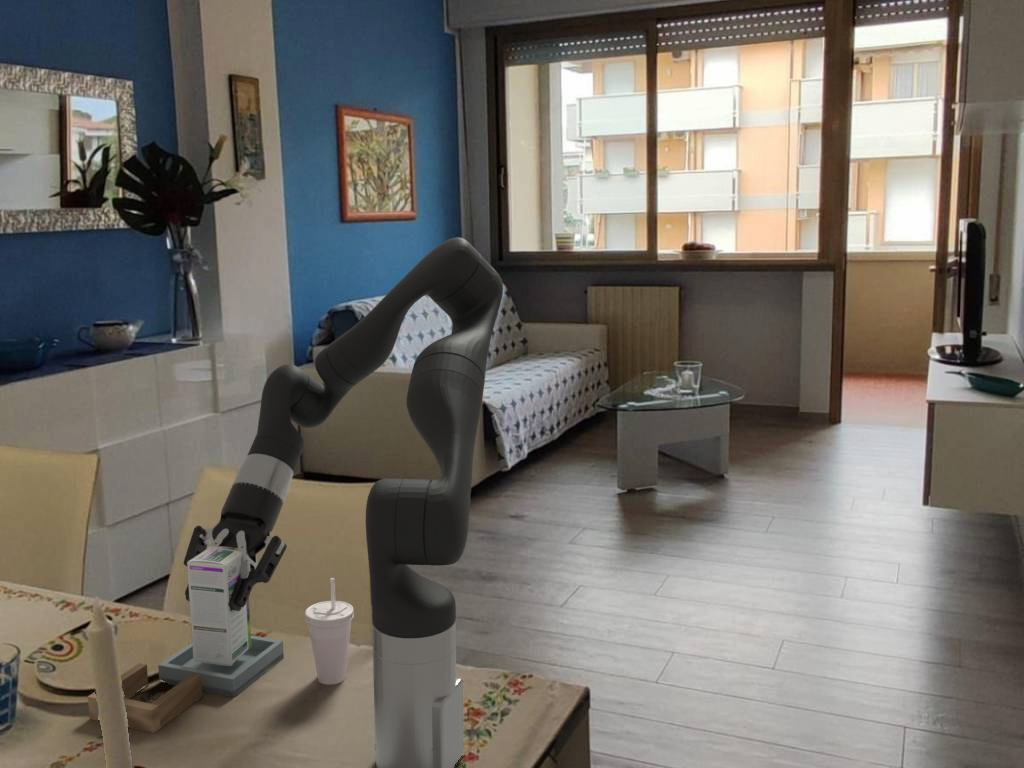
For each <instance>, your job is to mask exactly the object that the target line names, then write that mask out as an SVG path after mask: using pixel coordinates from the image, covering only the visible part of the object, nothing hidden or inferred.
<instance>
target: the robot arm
mask: <svg viewBox="0 0 1024 768" xmlns="http://www.w3.org/2000/svg"><path fill="white" fill-rule="evenodd" d="M503 293H504V283H503V280H502V278H501V276H500V274H499V273H498V271H497V270H496V269H495V268H494V267H493V266H492V265H491V264H490V263H489V262H488V261H487V260H486V259H485V258H484V256H483V255H481V253H480V251H478V250H477V249H476V248H475V247H474V246H473V245H472V244H471V243H470V241H468V240H466V239H465V238H463V237H452V238H449V239H447V240H445V241H444V242H442V243H440V244H438V245H437V246H436V247H435V248H433V249H432V250H431V251H429V252H428V254H426V255H425V256H424V257H423V258H421V260H420V261H419V262H418V263H417V264H415V266H414V267H413V268H412V269H411V270H409V272H407V274H406V275H405V276H404V277H402V279H400V281H399V282H398V283H396V285H395V286H393V288H392V289H391V290H390V291H389V292H388V293H386V295H385V296H384V297H383V298H382V299H381V300H380V301H379V302H378V303H377V304H376V305H375V306H374V307H373V308H372V309H371V310H370V311H369V312H368V313H367V314H365V316H364V317H363V318H361V319H360V321H358V322H357V323H356V324H355V325H354V326H352V327H351V328H350V329H348V330H347V331H345V332H344V333H343V334H342V335H340V336H338V338H336V339H335V340H334V341H332V342H331V343H330V344H328V345H327V346H325V347H324V348H323V349H321V351H319V352H318V354H317V355H316V357H315V359H314V367H315V370H316V372H317V375H318V376H319V377H320V379H321V380H322V382H323V383H320V382H319V380H318V381H317V380H316V379H315V378H314V377H312V376H311V375H309V373H307V372H306V371H304V370H303V369H301V368H300V367H298V366H297V365H295V364H290V363H289V364H288V363H287V364H283V365H280V366H278V367H277V368H275V369H274V370H273V371H272V372H271V373H270V374H269V376H268V377H267V378H266V381H265V383H264V386H263V388H262V392H261V400H260V406H259V407H260V409H259V415H258V425H257V430H256V436H255V437H254V439H253V442H252V444H251V446H250V449H249V451H248V453H247V455H246V457H245V458H244V459H245V460H244V462H243V463H242V465H241V466H240V468H239V469H238V472H237V473H236V476H235V478H234V482H233V483H232V485H231V488H230V490H229V492H228V495H227V497H226V499H225V502H224V504H223V506H222V509H221V511H220V520H219V521H218V523H217V524H216V525H214V527H213V528H203V527H202V525H196V526H195V527H194V528H193V532H192V534H191V537H190V541H189V544H188V547H187V549H186V553H185V557H184V559H183V565H184V566H185V567H187V562H188V561H190V560H191V559H193V558H194V557H196V556H197V555H199V554H200V553H202V552H204V551H205V550H206V549H207V548H208V547H209V546H210V547H218V546H222V547H233V548H238V550H239V551H242V552H243V554H242V558H241V567H240V573H241V579H238V581H237V583H236V585H235V588H234V590H233V593H232V595H231V598H230V600H229V603H228V605H229V607H230V608H232V609H233V610H235V611H240V610H241V607H244V606H245V604H246V602H247V599H248V597H249V598H250V594H251V592H252V589H253V587H254V586H255V585H256V584H260V583H263V584H267V583H269V582H270V581H271V579H272V577H273V575H274V572H275V571H276V569H277V567H278V565H279V563H280V561H281V559H282V557H283V556H284V553H285V551H287V543H286V542H284V541H283V540H282V538H281V537H279V536H278V535H273V537H272V536H270V534H271V532H272V531H274V528H275V526H276V523H277V520H278V518H279V516H280V513H281V511H282V508H283V505H284V503H285V501H286V498H287V495H288V494H289V490H290V488H291V484H292V480H293V476H294V473H295V471H296V469H297V466H298V463H299V460H300V458H301V456H302V454H303V451H304V447H305V441H304V438H303V436H302V435H301V433H300V432H299V431H298V430H297V428H296V427H295V426H294V425H293V423H294V424H297V425H298V426H299V427H301V428H305V429H312V428H315V427H318V426H321V425H322V424H323V423H325V422H326V421H327V419H329V418H330V416H331V414H332V413H333V412H334V410H335V409H336V407H337V406H338V405H339V403H340V402H341V401H343V398H344V397H345V396H346V395H347V394H348V393H349V391H350V390H351V389H353V387H354V386H356V385H357V384H359V383H360V382H361V381H363V380H364V379H366V378H367V377H368V376H370V375H371V374H373V373H374V372H375V371H377V370H378V369H379V368H380V367H382V366H383V364H384V363H386V361H387V359H388V358H389V357H390V355H391V353H393V350H394V347H395V345H396V342H397V339H398V337H399V336H398V335H399V334H400V330H401V327H402V325H403V321H404V319H405V318H406V315H407V314H408V311H409V310H410V309H411V308H412V306H414V304H415V303H417V302H418V301H419V300H420V299H421V298H423V297H424V296H428V297H429V298H430V299H431V300H432V302H433V303H435V304H436V305H437V306H438V308H440V309H441V310H442V311H443V312H444V313H446V315H447V316H448V317H449V318H450V320H451V325H452V326H451V327H452V328H451V332H450V334H448V335H446V336H444V337H441V338H438V340H435V341H433V342H432V343H430V344H429V345H427V346H425V348H424V349H422V350H421V352H420V353H419V354H418V355H417V356H416V359H415V362H414V363H413V366H412V371H411V375H410V379H409V384H408V389H407V394H406V409H407V412H408V416H409V418H410V420H411V423H412V424H413V427H415V429H416V431H417V433H418V434H419V436H420V437H421V439H422V440H423V441H424V443H425V444H426V445H427V447H428V448H429V449H430V451H431V453H432V454H433V455H434V458H435V459H436V462H437V464H438V466H439V469H440V471H441V473H442V477H440V478H439V479H427V478H382V479H379V480H377V481H376V482H374V484H373V485H372V486H371V488H370V491H369V493H368V495H367V499H366V504H365V505H366V506H365V536H366V537H365V538H366V547H367V557H368V569H369V572H368V573H369V584H370V587H369V588H370V589H369V590H370V603H371V604H370V605H371V618H372V619H371V621H372V622H371V623H372V625H371V626H372V630H371V631H372V660H373V661H372V663H373V664H372V665H373V666H372V667H373V670H372V671H373V672H372V673H373V698H374V700H373V702H374V703H373V704H374V705H373V707H374V708H373V709H374V733H375V734H374V736H375V737H374V738H375V744H374V745H375V747H374V751H375V763H376V764H375V765H376V768H453V767H454V766H455V764H456V763H457V762H458V760H459V759H460V757H461V756H462V754H463V753H465V751H464V750H465V749H464V745H465V744H464V743H465V742H464V681H463V679H462V678H458V677H457V629H456V628H457V626H456V624H457V623H456V622H457V621H456V620H457V615H456V613H457V610H456V609H457V606H456V605H457V604H456V600H455V596H454V594H453V592H451V590H450V589H449V588H447V587H446V586H445V585H443V584H441V583H438V582H436V581H434V580H431V579H429V578H426V577H425V576H423V575H421V574H419V573H417V571H415V570H413V569H412V568H411V567H410V566H411V565H412V566H435V567H436V566H440V567H441V566H449V565H454V564H456V563H457V562H459V561H460V559H461V558H462V556H463V554H464V550H465V549H466V545H467V540H468V536H469V535H468V534H469V525H470V513H471V512H470V511H471V496H472V495H471V493H472V478H473V465H474V464H473V462H474V452H475V444H476V439H477V432H478V428H479V427H478V426H479V422H480V415H481V411H482V407H483V406H482V403H483V397H484V389H485V383H486V372H487V371H486V368H487V362H488V356H489V352H490V346H491V341H492V335H493V331H494V328H495V324H496V322H497V321H496V320H497V317H498V315H499V314H498V313H499V310H500V306H501V303H502V299H503V295H504V294H503ZM292 422H293V423H292ZM212 540H213V541H212ZM263 549H264V552H263V554H262V556H261V558H260V560H259V561H258V554H259V553H260V552H261V551H262V550H263ZM184 596H185V600H186V601H188V602H189V603H190V600H189V583H188V584H187V586H186V588H185V591H184ZM463 755H464V754H463ZM462 757H463V756H462ZM462 757H461V758H462ZM460 760H461V759H460ZM460 760H459V761H460ZM458 763H459V762H458ZM458 763H457V764H458ZM457 764H456V765H457ZM455 767H456V766H455ZM455 767H454V768H455Z"/></svg>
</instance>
